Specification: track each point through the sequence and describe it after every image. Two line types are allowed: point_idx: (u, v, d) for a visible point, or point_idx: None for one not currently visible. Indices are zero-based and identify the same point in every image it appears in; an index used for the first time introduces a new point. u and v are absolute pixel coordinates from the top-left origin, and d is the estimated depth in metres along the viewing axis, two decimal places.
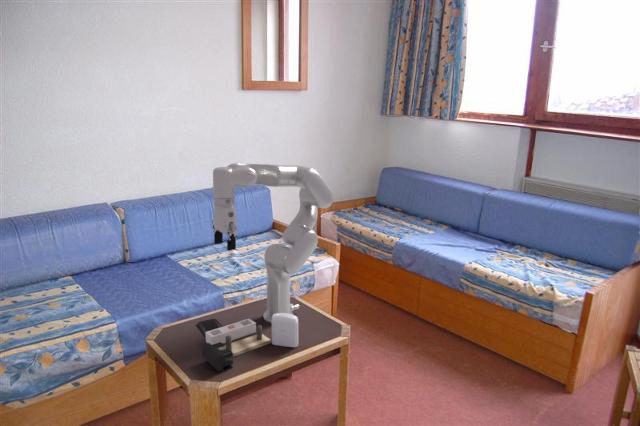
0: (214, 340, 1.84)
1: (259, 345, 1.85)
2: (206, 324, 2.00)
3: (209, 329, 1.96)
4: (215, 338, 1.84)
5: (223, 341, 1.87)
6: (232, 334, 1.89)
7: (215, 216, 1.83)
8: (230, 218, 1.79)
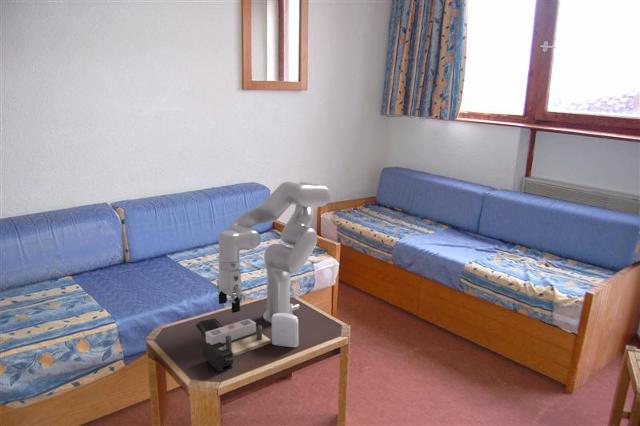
0: (214, 340, 1.84)
1: (259, 345, 1.85)
2: (206, 324, 2.00)
3: (209, 329, 1.96)
4: (215, 338, 1.84)
5: (223, 341, 1.87)
6: (232, 334, 1.89)
7: (220, 278, 1.86)
8: (235, 281, 1.82)
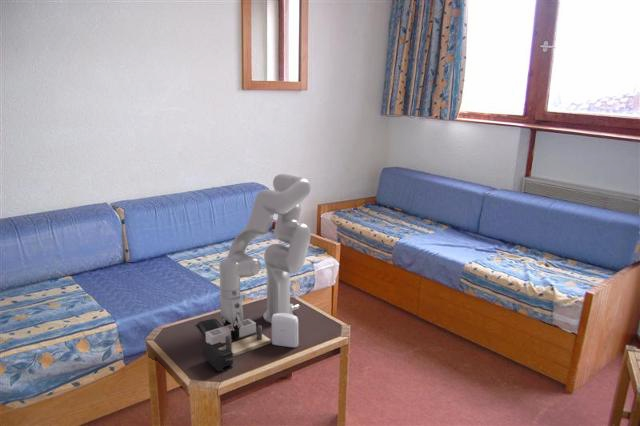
0: (214, 340, 1.84)
1: (259, 345, 1.85)
2: (206, 324, 2.00)
3: (209, 329, 1.96)
4: (215, 338, 1.84)
5: (223, 341, 1.87)
6: None
7: (222, 305, 1.89)
8: (236, 309, 1.85)
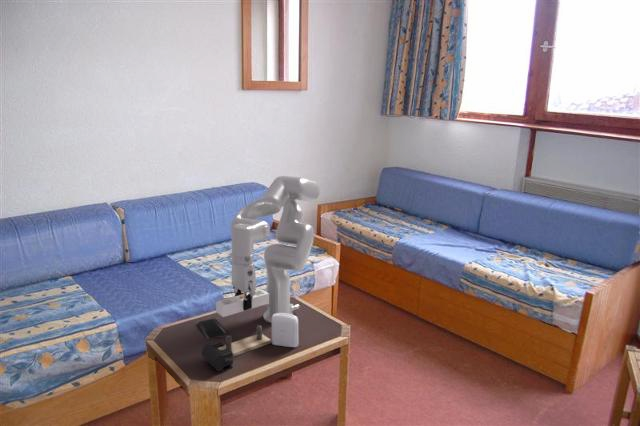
0: (225, 310, 1.73)
1: (259, 345, 1.85)
2: (206, 324, 2.00)
3: (209, 329, 1.96)
4: (226, 307, 1.73)
5: (235, 311, 1.76)
6: None
7: (233, 273, 1.78)
8: (249, 277, 1.74)
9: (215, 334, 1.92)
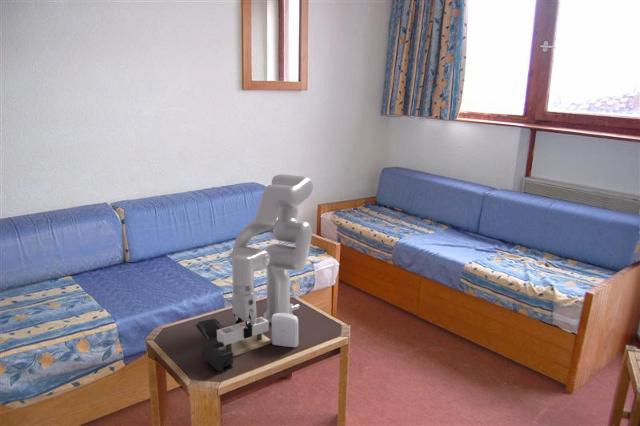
0: (226, 339, 1.76)
1: (259, 345, 1.85)
2: (206, 324, 2.00)
3: (209, 329, 1.96)
4: (227, 336, 1.76)
5: (235, 339, 1.78)
6: None
7: (234, 302, 1.81)
8: (250, 306, 1.76)
9: (215, 334, 1.92)
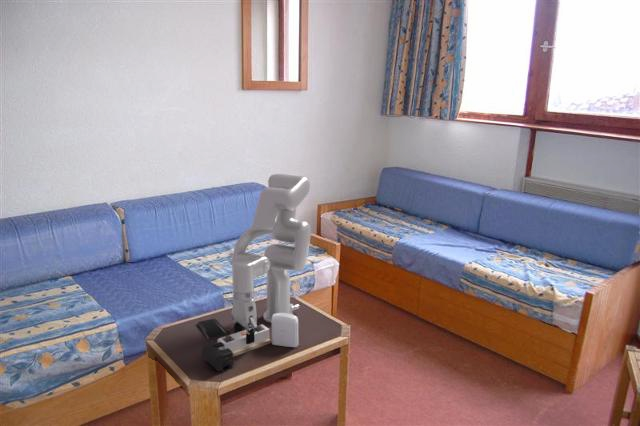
0: None
1: (259, 345, 1.85)
2: (206, 324, 2.00)
3: (209, 329, 1.96)
4: (228, 345, 1.77)
5: (236, 348, 1.80)
6: (245, 341, 1.82)
7: (234, 308, 1.81)
8: (250, 312, 1.77)
9: (215, 334, 1.92)
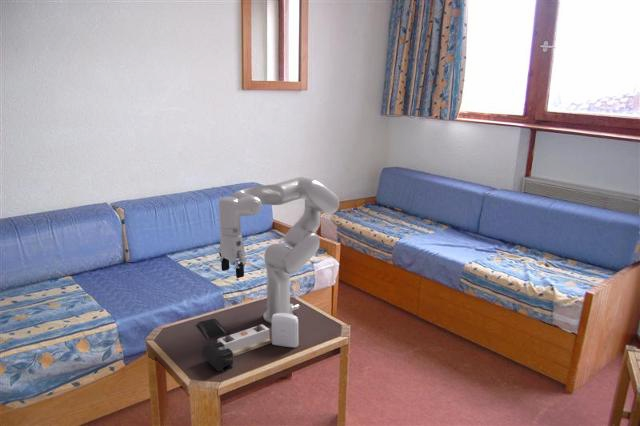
0: None
1: (259, 345, 1.85)
2: (206, 324, 2.00)
3: (209, 329, 1.96)
4: (228, 345, 1.77)
5: (236, 348, 1.80)
6: (245, 341, 1.82)
7: (222, 245, 1.86)
8: (238, 247, 1.83)
9: (215, 334, 1.92)
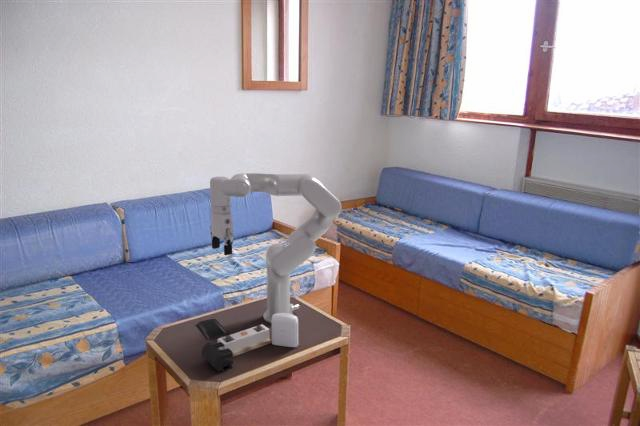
0: None
1: (259, 345, 1.85)
2: (206, 324, 2.00)
3: (209, 329, 1.96)
4: (228, 345, 1.77)
5: (236, 348, 1.80)
6: (245, 341, 1.82)
7: (212, 223, 1.94)
8: (226, 225, 1.90)
9: (215, 334, 1.92)
